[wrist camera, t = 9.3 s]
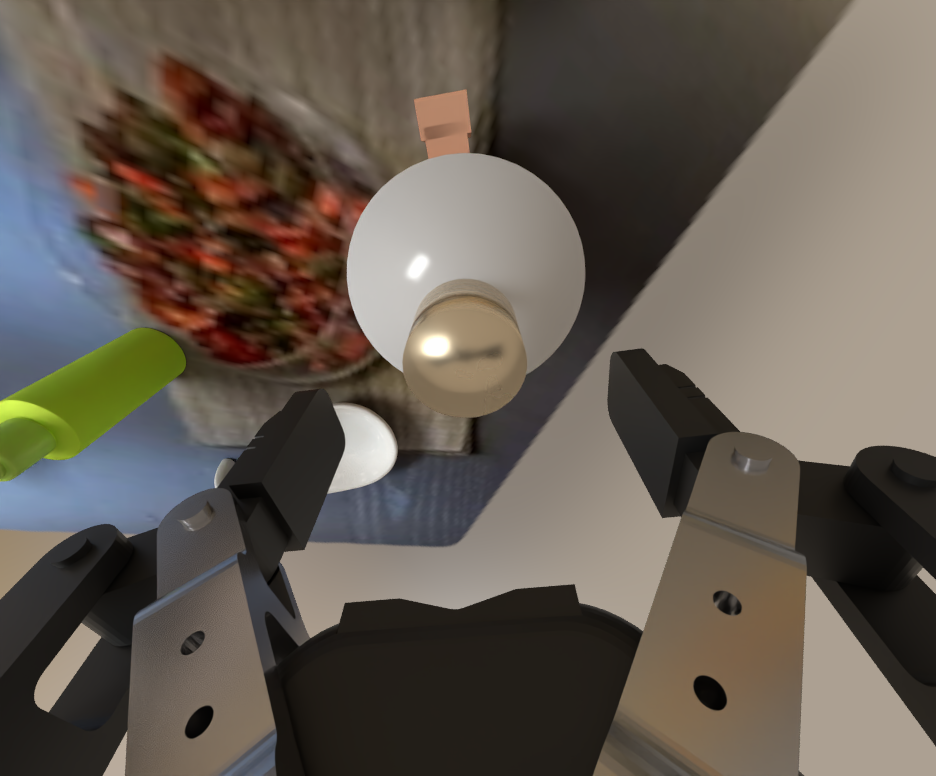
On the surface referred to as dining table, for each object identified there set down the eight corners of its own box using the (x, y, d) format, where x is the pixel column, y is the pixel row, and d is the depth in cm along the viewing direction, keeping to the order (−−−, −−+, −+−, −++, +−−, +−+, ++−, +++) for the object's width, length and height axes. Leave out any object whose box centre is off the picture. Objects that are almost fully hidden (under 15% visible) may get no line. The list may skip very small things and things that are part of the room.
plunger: (417, 257, 17) (388, 318, 11) (503, 244, 17) (523, 299, 11) (433, 336, 19) (417, 423, 13) (510, 325, 19) (530, 410, 13)
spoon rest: (369, 373, 41) (352, 412, 35) (418, 447, 47) (411, 491, 41) (205, 439, 46) (165, 482, 40) (267, 498, 52) (241, 544, 46)
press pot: (378, 130, 29) (288, 111, 15) (527, 103, 28) (590, 54, 14) (417, 301, 36) (383, 401, 22) (536, 284, 36) (583, 377, 21)
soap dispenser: (195, 340, 39) (-15, 487, 22) (178, 386, 42) (-18, 545, 25) (133, 308, 37) (-148, 442, 20) (120, 358, 40) (-134, 511, 23)
